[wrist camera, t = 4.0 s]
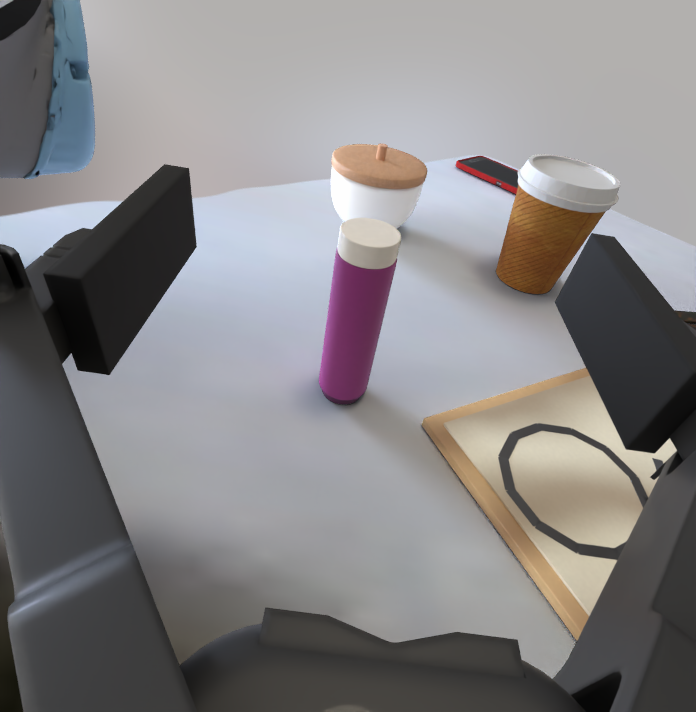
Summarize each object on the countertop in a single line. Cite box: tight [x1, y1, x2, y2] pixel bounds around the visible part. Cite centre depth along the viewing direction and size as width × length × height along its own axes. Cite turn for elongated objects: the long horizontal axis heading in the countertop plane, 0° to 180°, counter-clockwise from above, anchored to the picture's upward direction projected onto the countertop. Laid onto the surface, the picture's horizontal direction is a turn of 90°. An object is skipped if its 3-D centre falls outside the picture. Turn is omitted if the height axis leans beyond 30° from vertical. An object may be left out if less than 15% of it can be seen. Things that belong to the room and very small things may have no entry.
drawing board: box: [422, 368, 677, 641], centre depth 29 cm, size 22×20×1 cm
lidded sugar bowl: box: [331, 144, 427, 229], centre depth 52 cm, size 11×11×9 cm
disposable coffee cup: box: [496, 154, 620, 294], centre depth 47 cm, size 10×10×12 cm
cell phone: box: [456, 156, 519, 194], centre depth 74 cm, size 8×15×1 cm, turn 43°
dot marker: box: [319, 218, 401, 405], centre depth 30 cm, size 4×4×13 cm
